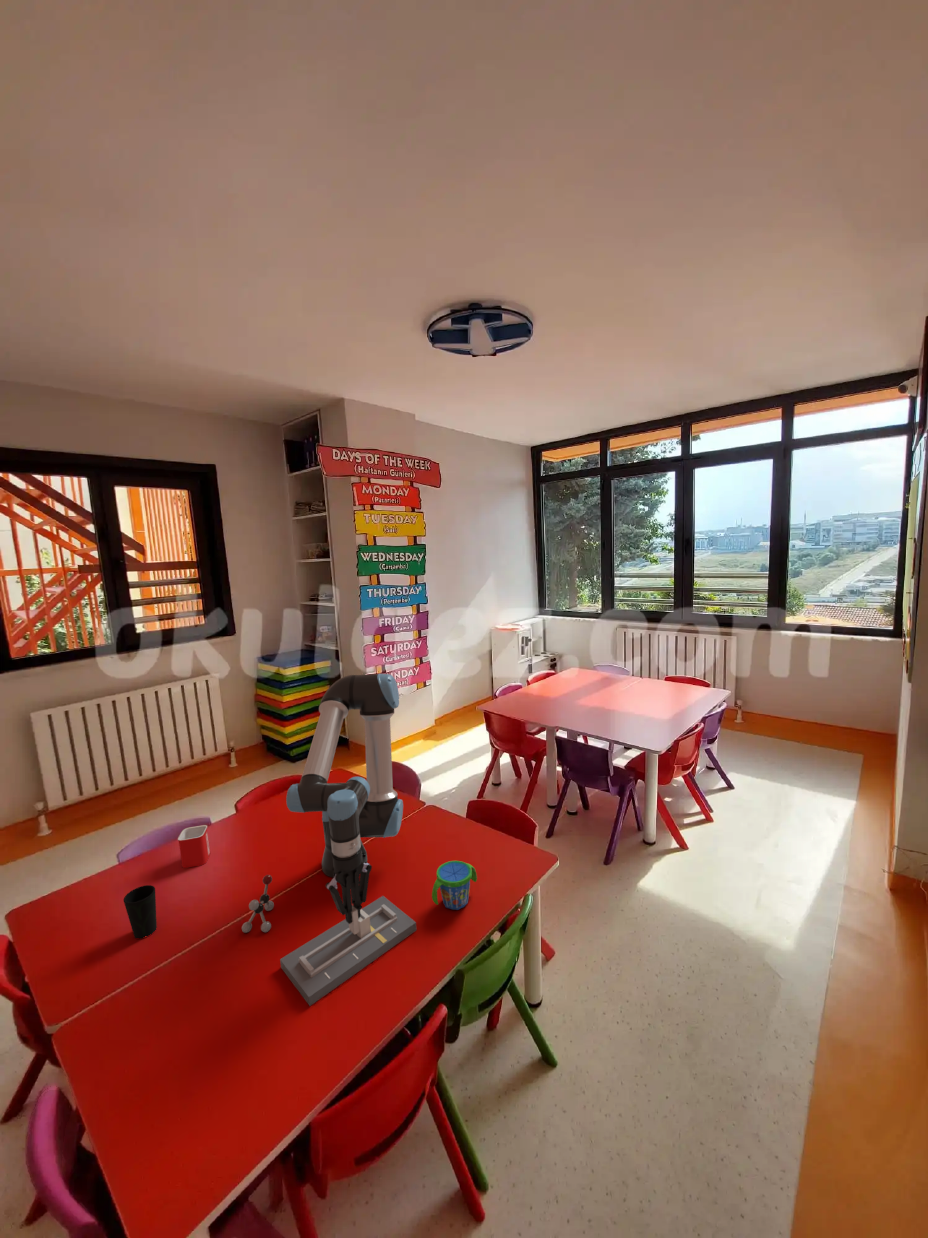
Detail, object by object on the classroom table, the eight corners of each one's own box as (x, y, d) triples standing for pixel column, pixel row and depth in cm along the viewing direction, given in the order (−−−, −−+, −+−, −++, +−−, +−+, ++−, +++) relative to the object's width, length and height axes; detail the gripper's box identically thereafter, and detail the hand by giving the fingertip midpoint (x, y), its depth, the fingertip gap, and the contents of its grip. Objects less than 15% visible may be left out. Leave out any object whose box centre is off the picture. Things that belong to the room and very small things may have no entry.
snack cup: (467, 882, 158) (466, 852, 157) (487, 901, 149) (485, 869, 148) (424, 903, 150) (422, 872, 148) (442, 924, 141) (440, 891, 140)
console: (280, 967, 129) (279, 953, 129) (383, 903, 151) (382, 891, 150) (309, 1006, 118) (308, 991, 117) (416, 930, 139) (415, 917, 139)
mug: (206, 865, 175) (202, 836, 173) (180, 869, 173) (176, 841, 171) (214, 845, 186) (211, 819, 185) (190, 849, 185) (186, 823, 183)
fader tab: (353, 931, 137) (352, 914, 136) (363, 925, 139) (361, 908, 138) (361, 939, 134) (359, 921, 133) (371, 933, 136) (369, 915, 135)
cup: (167, 924, 147) (161, 887, 145) (143, 944, 140) (136, 905, 138) (147, 919, 149) (142, 883, 148) (123, 939, 142) (116, 900, 141)
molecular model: (240, 935, 141) (236, 901, 140) (259, 905, 153) (255, 873, 152) (269, 934, 141) (264, 900, 139) (285, 904, 153) (281, 872, 151)
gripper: (331, 867, 124) (339, 952, 128) (375, 844, 133) (382, 924, 136) (317, 855, 130) (325, 937, 133) (360, 834, 138) (367, 911, 142)
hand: (354, 930), depth 135 cm, fingers closed
